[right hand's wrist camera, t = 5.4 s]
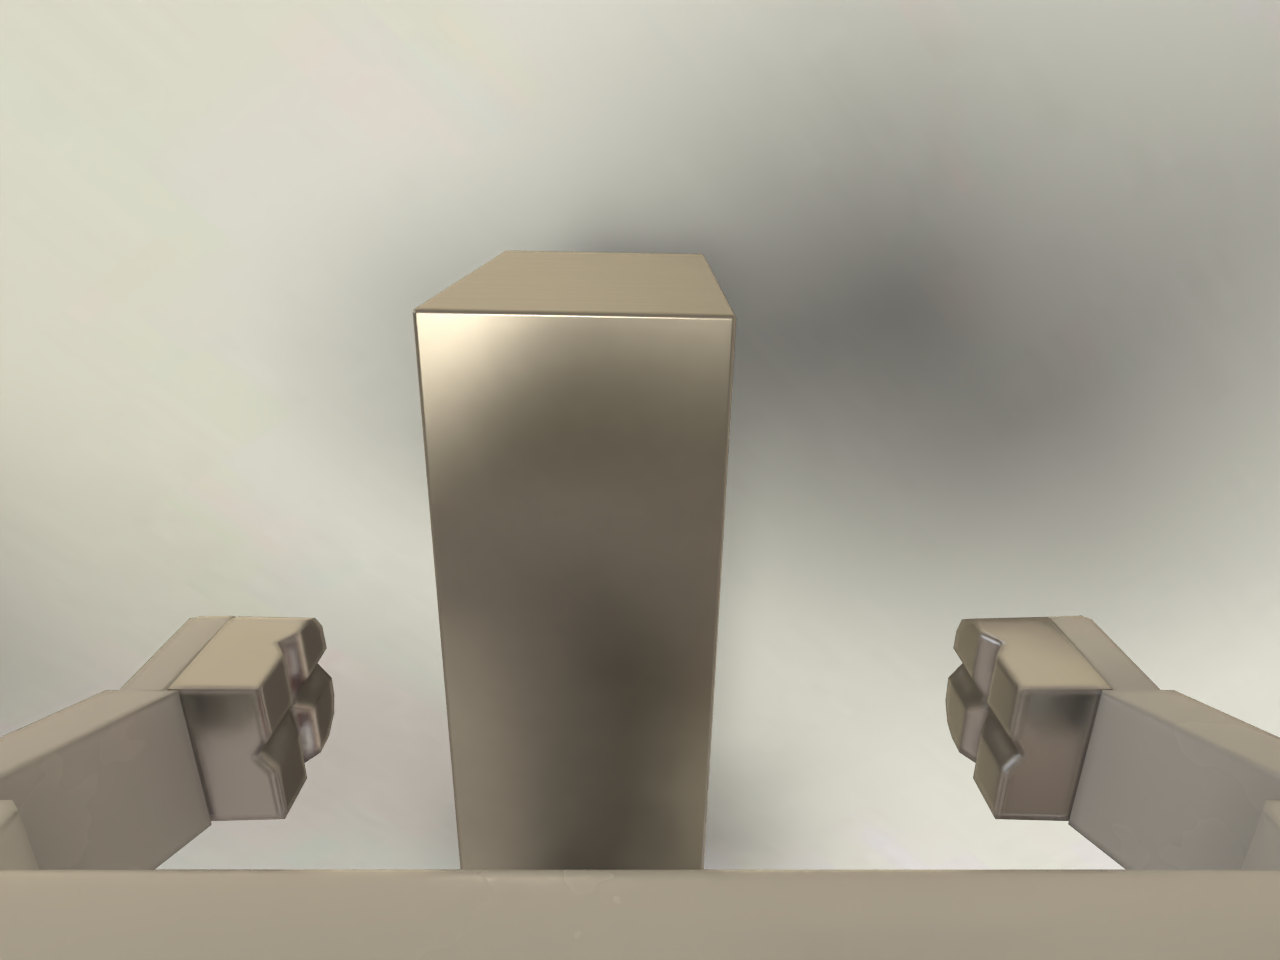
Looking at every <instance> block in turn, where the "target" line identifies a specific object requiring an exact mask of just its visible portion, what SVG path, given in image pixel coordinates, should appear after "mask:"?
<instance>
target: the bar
mask: <svg viewBox="0 0 1280 960" xmlns="http://www.w3.org/2000/svg"><path fill="white" fill-rule="evenodd" d="M413 321H414V333H415V344H416V356H417V367H418V379H419V391H420V402H421V414H422V426H423V437H424V449H425V461H426V472H427V484H428V496H429V507H430V519H431V530H432V542H433V554H434V565H435V577H436V589H437V600H438V612H439V624H440V635H441V647H442V658H443V670H444V682H445V693H446V705H447V717H448V728H449V740H450V752H451V763H452V775H453V787H454V798H455V810H456V821H457V833H458V845H459V856H460V868H461V870H704V853H705V836H706V819H707V802H708V785H709V769H710V752H711V735H712V718H713V701H714V684H715V668H716V651H717V634H718V617H719V600H720V583H721V567H722V550H723V533H724V516H725V499H726V482H727V465H728V449H729V432H730V415H731V398H732V381H733V364H734V348H735V331H736V317H735V315H734V313H733V311H732V309H731V307H730V305H729V303H728V301H727V299H726V297H725V295H724V294H723V292H722V290H721V288H720V286H719V284H718V282H717V280H716V278H715V276H714V274H713V272H712V270H711V269H710V267H709V265H708V263H707V261H706V259H705V257H704V255H702V254H666V253H612V252H557V251H505V252H503V253H502V254H500V255H499V256H497V257H495V258H494V259H492V260H491V261H489V262H488V263H486V264H484V265H483V266H481V267H480V268H478V269H477V270H475V271H473V272H472V273H470V274H469V275H467V276H466V277H464V278H462V279H461V280H459V281H458V282H456V283H455V284H453V285H451V286H450V287H448V288H447V289H445V290H444V291H442V292H440V293H439V294H437V295H436V296H434V297H433V298H431V299H429V300H428V301H426V302H425V303H423V304H422V305H420V306H419V307H417V308H415V309H414V311H413Z"/></svg>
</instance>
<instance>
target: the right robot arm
mask: <svg viewBox="0 0 1280 960" xmlns="http://www.w3.org/2000/svg"><path fill="white" fill-rule="evenodd" d="M325 650H326V643H325V638H324V633H323V628H322V625H321V624H320V623H319V622H318V621H317V620H316V619H315V618H291V617H240V616H239V617H235V616H200V617H195V618H190V619H189V620H188V621H187V622H186V623H185V624H184V625H183V626H182V627H181V628H180V629H179V630H178V631H177V632H176V633H175V634H174V635H173V636H172V637H171V638H170V639H169V640H168V641H167V642H166V643H165V644H164V645H163V646H162V647H161V648H160V649H159V650H158V651H157V652H156V653H155V654H154V655H153V656H152V657H151V658H150V659H149V660H148V661H147V662H146V663H145V664H144V665H143V667H142V668H141V669H140V670H139V671H138V672H137V673H136V674H135V675H134V676H133V677H132V678H131V679H130V680H129V681H128V682H127V683H126V684H125V685H124V686H123V687H122V688H121V689H120V690H106V691H103V692H101V693H99V694H97V695H94V696H92V697H90V698H88V699H85V700H83V701H81V702H79V703H77V704H74V705H72V706H70V707H68V708H65V709H63V710H61V711H59V712H56V713H54V714H52V715H50V716H47V717H45V718H43V719H41V720H38V721H36V722H34V723H32V724H30V725H27V726H25V727H23V728H21V729H18V730H16V731H14V732H12V733H9V734H7V735H5V736H3V737H0V960H1280V738H1279V737H1277V736H1275V735H1273V734H1270V733H1268V732H1266V731H1264V730H1261V729H1259V728H1257V727H1255V726H1252V725H1250V724H1248V723H1246V722H1244V721H1241V720H1239V719H1237V718H1235V717H1232V716H1230V715H1228V714H1226V713H1223V712H1221V711H1219V710H1217V709H1215V708H1212V707H1210V706H1208V705H1206V704H1203V703H1201V702H1199V701H1197V700H1195V699H1192V698H1190V697H1188V696H1186V695H1183V694H1181V693H1179V692H1177V691H1174V690H1160V689H1159V688H1158V687H1157V686H1156V685H1155V684H1154V683H1153V682H1152V681H1151V680H1150V679H1149V678H1148V677H1147V676H1146V675H1145V674H1144V673H1143V672H1142V670H1141V669H1140V668H1139V667H1138V666H1137V665H1136V664H1135V663H1134V662H1133V661H1132V660H1131V659H1130V658H1129V657H1128V656H1127V655H1126V654H1125V653H1124V652H1123V651H1122V650H1121V649H1120V648H1119V647H1118V646H1117V645H1116V644H1115V643H1114V642H1113V641H1112V640H1111V639H1110V638H1109V637H1108V636H1107V635H1106V634H1105V633H1104V632H1103V631H1102V630H1101V629H1100V628H1099V627H1098V626H1097V624H1096V623H1095V622H1094V621H1093V620H1092V619H1089V618H1086V617H1084V616H1058V617H1025V618H985V619H962V620H961V623H960V625H959V627H958V629H957V631H956V637H955V642H954V650H955V651H956V653H957V655H958V656H959V658H960V659H961V661H962V664H961V665H960V667H959V668H958V669H957V670H956V671H955V672H954V673H953V674H952V675H951V676H950V677H949V678H948V685H947V693H946V700H945V701H946V712H947V723H948V726H949V729H950V733H951V736H952V739H953V741H954V743H955V745H956V747H957V749H958V751H959V752H960V753H961V754H963V755H964V756H966V757H967V758H969V759H970V760H972V761H973V762H975V763H976V765H975V770H974V776H973V779H974V781H975V782H976V784H977V786H978V788H979V790H980V792H981V794H982V795H983V797H984V799H985V801H986V803H987V805H988V806H989V808H990V810H991V812H992V814H993V816H994V817H995V819H1017V820H1053V821H1069V823H1068V824H1069V825H1070V826H1071V827H1073V828H1074V829H1075V830H1076V831H1078V832H1079V833H1080V834H1081V835H1083V836H1084V837H1085V838H1087V839H1088V840H1089V841H1090V842H1092V843H1093V844H1094V845H1095V846H1097V847H1098V848H1099V849H1100V850H1102V851H1103V852H1104V853H1106V854H1107V855H1108V856H1109V857H1111V858H1112V859H1113V860H1114V861H1116V862H1117V863H1118V864H1120V865H1121V866H1122V867H1123V868H1125V869H1126V870H154V869H156V868H157V867H158V866H159V865H161V864H162V863H163V862H165V861H166V860H167V859H168V858H170V857H171V856H172V855H173V854H175V853H176V852H177V851H179V850H180V849H181V848H182V847H184V846H185V845H186V844H187V843H189V842H190V841H191V840H193V839H194V838H195V837H196V836H198V835H199V834H200V833H201V832H203V831H204V830H205V829H206V828H208V827H209V826H210V825H211V821H226V820H261V819H285V818H286V816H287V814H288V812H289V810H290V808H291V807H292V805H293V803H294V801H295V799H296V797H297V795H298V794H299V792H300V790H301V788H302V786H303V784H304V782H305V781H306V779H307V776H306V770H305V765H304V763H305V762H307V761H308V760H310V759H311V758H313V757H314V756H316V755H317V754H319V753H320V752H321V751H322V749H323V747H324V745H325V743H326V741H327V739H328V737H329V733H330V729H331V724H332V720H333V715H334V690H333V684H332V678H331V677H330V676H329V675H328V674H327V673H326V672H325V671H324V670H323V669H322V668H321V667H320V665H319V664H318V661H319V659H320V658H321V656H322V655H323V653H324V651H325Z"/></svg>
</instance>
